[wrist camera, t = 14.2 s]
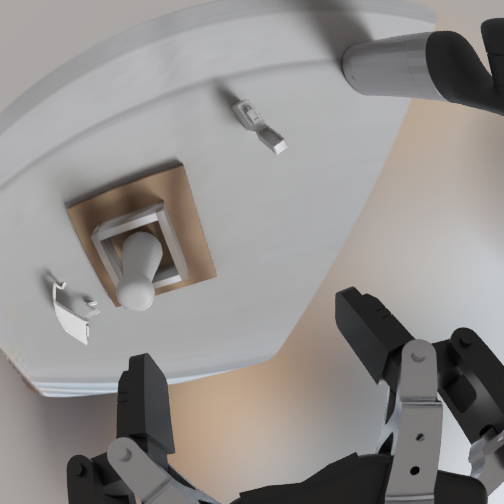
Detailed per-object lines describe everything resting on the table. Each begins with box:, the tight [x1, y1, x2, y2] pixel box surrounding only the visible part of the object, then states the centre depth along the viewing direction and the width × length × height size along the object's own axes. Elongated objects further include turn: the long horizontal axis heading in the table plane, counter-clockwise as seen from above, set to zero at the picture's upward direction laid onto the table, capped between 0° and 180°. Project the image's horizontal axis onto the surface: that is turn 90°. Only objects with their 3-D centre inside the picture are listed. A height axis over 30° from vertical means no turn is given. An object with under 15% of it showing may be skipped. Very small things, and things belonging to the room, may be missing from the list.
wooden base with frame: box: [67, 164, 217, 307], centre depth 36 cm, size 18×18×6 cm
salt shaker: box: [116, 231, 163, 312], centre depth 32 cm, size 6×6×13 cm
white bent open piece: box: [53, 282, 101, 345], centre depth 38 cm, size 12×8×5 cm
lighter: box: [231, 99, 288, 154], centre depth 31 cm, size 7×2×8 cm, turn 34°
